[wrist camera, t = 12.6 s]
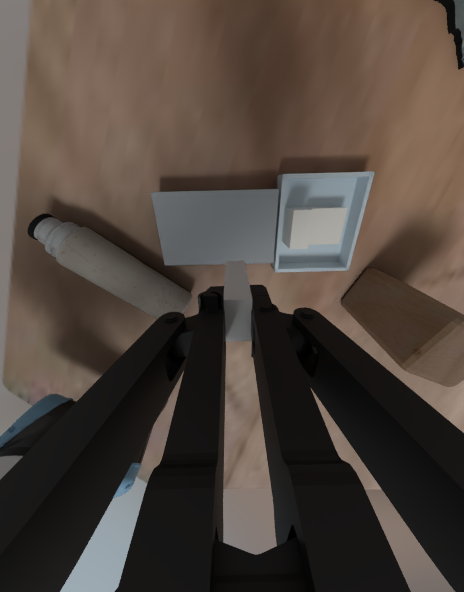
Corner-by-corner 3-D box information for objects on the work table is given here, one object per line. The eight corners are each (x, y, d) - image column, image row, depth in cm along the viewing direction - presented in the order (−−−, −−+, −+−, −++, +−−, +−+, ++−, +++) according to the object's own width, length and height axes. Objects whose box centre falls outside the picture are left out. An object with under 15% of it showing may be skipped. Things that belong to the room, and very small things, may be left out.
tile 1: (339, 244, 36) (331, 240, 39) (347, 207, 33) (339, 206, 36) (305, 244, 36) (300, 240, 39) (311, 208, 33) (305, 207, 36)
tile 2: (289, 249, 33) (307, 248, 33) (293, 210, 31) (313, 209, 31) (281, 240, 39) (297, 240, 39) (284, 207, 36) (301, 206, 36)
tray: (271, 265, 42) (274, 272, 38) (277, 175, 34) (282, 174, 31) (338, 263, 42) (348, 270, 38) (360, 173, 34) (374, 171, 30)
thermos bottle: (183, 302, 48) (60, 227, 39) (197, 288, 42) (56, 196, 33) (167, 331, 43) (23, 252, 35) (180, 320, 37) (11, 221, 29)
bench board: (171, 258, 41) (164, 265, 37) (159, 191, 35) (150, 192, 31) (269, 255, 41) (273, 263, 37) (273, 188, 35) (278, 188, 31)
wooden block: (337, 302, 46) (402, 373, 28) (367, 264, 42) (466, 319, 24) (371, 317, 48) (452, 391, 30) (403, 282, 44) (520, 345, 26)
